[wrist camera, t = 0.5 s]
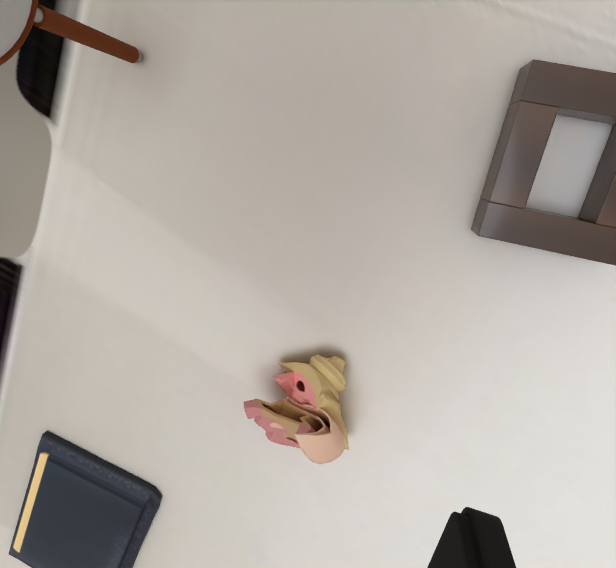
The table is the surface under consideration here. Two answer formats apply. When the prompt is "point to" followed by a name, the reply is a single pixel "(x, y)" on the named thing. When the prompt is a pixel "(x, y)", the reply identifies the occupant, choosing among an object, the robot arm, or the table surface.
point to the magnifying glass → (53, 30)
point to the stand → (527, 155)
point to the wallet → (81, 511)
